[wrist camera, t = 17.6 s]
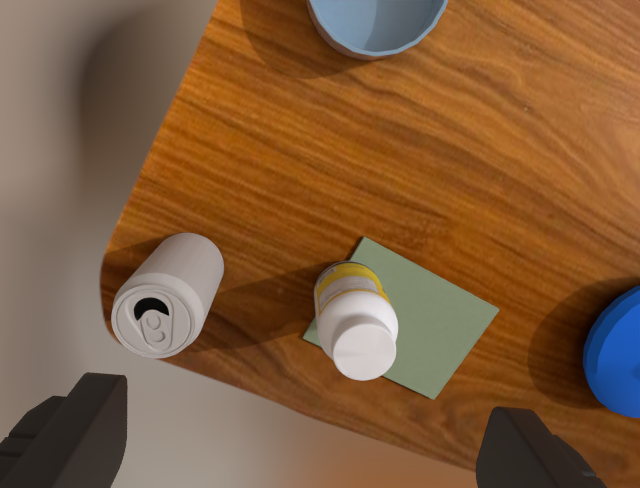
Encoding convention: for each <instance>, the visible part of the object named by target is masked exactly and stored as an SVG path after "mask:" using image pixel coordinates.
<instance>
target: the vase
mask: <svg viewBox="0 0 640 488" xmlns="http://www.w3.org/2000/svg"><path fill="white" fill-rule="evenodd" d="M583 367H584V372H585V376H586V380H587V382H588V384H589V387H590V388H591V390H592V391H593V393H594V395H595V396H596V398H597V399H598V401H599V402H601V403H602V404H603V405H605V406H606V407H607V408H608V409H610V410H611V411H613V412H616V413H619V414H621V415H624V416H627V417H636V418H640V285H639V286H636V287H634V288H632V289H631V290H629V291H627V292H626V293H624V294H623V295H621V296H620V297H618V298H616V299H615V300H614V301H613V302H612V303H611V304H610V305H609V306H608V307H607V308H606V309H605V310H604V311H603V312H602V313H601V314H600V316H599V317H598V319H597V320H596V322H595V323H594V325H593V326H592V328H591V329H590V332H589V335H588V337H587V340H586V343H585V346H584V353H583Z"/></svg>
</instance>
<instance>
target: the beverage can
mask: <svg viewBox="0 0 640 488" xmlns="http://www.w3.org/2000/svg"><path fill="white" fill-rule="evenodd" d="M223 272H224V262H223V258H222V255H221V253H220V251H219V250H218V248H217V247H216V246H215V245H214V244H213V243H212V242H211V241H210V240H209V239H207V238H205V237H203V236H201V235H198V234H194V233H179V234H175V235H172V236H170V237H168V238H167V239H165V240H164V241H163V242H162V243H161V244H160V245H159V246H158V247H157V248H156V249H155V251H154V252H153V253H152V254H151V255H150V256H149V257H148V258H147V259H146V260H145V262H144V263H143V264H142V265H141V266H140V267H139V268H138V269H137V270H136V271H135V272H134V274H133V275H132V276H131V277H130V278H129V279H128V280H127V281H126V282H125V283H124V285H123V286H122V287H121V288H120V289H119V291H118V292H117V294H116V296H115V299H114V302H113V310H112V315H111V322H112V327H113V330H114V333H115V335H116V336H117V338H118V340H119V341H120V342H121V343H122V344H123V345H124V346H125V347H126V348H127V349H129V350H130V351H132V352H134V353H136V354H138V355H141V356H144V357H148V358H165V357H170V356H172V355H175V354H177V353H179V352H180V351H182V350H183V349H184V348H185V347H187V346H188V345H190V344H191V343H192V342H193V341H194V340H195V339H196V338H197V336H198V335H199V333H200V331H201V329H202V327H203V324H204V322H205V319H206V317H207V314H208V312H209V309H210V307H211V304H212V302H213V299H214V297H215V294H216V292H217V289H218V286H219V284H220V281H221V279H222V276H223Z"/></svg>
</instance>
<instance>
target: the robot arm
mask: <svg viewBox="0 0 640 488" xmlns="http://www.w3.org/2000/svg"><path fill="white" fill-rule="evenodd" d="M126 440H127V378H126V377H125V376H124V375H114V374H101V373H89V372H88V373H86V374H84V375H83V376H82V378H81V379H80V380H79V381H78V383H77V384H76V385H75V387H74V388H73V389H72V390H71V392H70V393H69V394H68V396H67V397H62V396H52V397H50V398H49V399H47V400H45V401H44V402H42V403H41V404H39V405H38V406H36V407H35V408H33V409H31V410H30V411H28V412H27V413H26V414H25V415H24V416H23V418H22V419H21V420H20V421H19V422H18V423H17V425H16V426H15V427H14V428H13V429H12V430H11V432H10V433H9V436H8V437H5V439H4V440H3V441H2V442H1V443H0V488H110V487H111V485H112V483H113V481H114V479H115V477H116V474H117V472H118V470H119V468H120V465H121V463H122V460H123V456H124V452H125V447H126ZM476 480H477V485H478V488H607V487H606V486H605V484H604V483H603V482H602V481H601V479H600V478H597V477H596V473H595V472H594V471H593V470H592V468H591V467H590V466H589V465H588V463H587V462H586V461H585V460H584V459H583V457H582V456H581V455H580V454H579V453H578V452H577V451H576V450H574V449H573V448H572V447H571V446H569V445H568V444H567V443H566V442H564V441H563V440H562V439H560V438H559V437H558V436H557V435H552V434H551V432H550V431H549V430H548V428H547V427H546V426H545V425H544V423H543V422H542V421H541V419H540V418H539V417H538V416H537V414H536V413H535V412H534V411H532V410H530V409H521V408H509V407H495V408H494V409H493V410H492V412H491V414H490V417H489V421H488V424H487V428H486V431H485V434H484V438H483V441H482V445H481V448H480V451H479V455H478V458H477V462H476Z"/></svg>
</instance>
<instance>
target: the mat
mask: <svg viewBox="0 0 640 488" xmlns="http://www.w3.org/2000/svg"><path fill="white" fill-rule="evenodd" d="M349 261H355V262H359V263H362V264H364V265H366V266H367V267H369V268H370V269H371V270H372V271H373V272H374V273H375V274H376V276H377V277H378V279H379V281H380V283H381V285H382V287H383V289H384V291H385V293H386V295H387V297H388V299H389V301H390V304H391V306H392V308H393V310H394V312H395V314H396V317H397V321H398V335H397V339H396V342H395V344H396V357H395V360H394V362H393V364H392V365H391V367H390V368H389V369H388V370H387V371H386V372H385V373H384V374H383V375H382V376H384V377H386V378H388V379H390V380H392V381H395V382H397V383H399V384H401V385H403V386H405V387H407V388H410V389H412V390H414V391H416V392H418V393H420V394H422V395H424V396H427V397H429V398H431V399H433V400H434V399H435V398H436V397H437V395H438V394H439V392H440V391H441V390H442V388H443V387H444V386H445V384H446V383H447V381H448V380H449V379H450V377H451V376H452V375H453V373H454V372H455V370H456V369H457V368H458V366H459V365H460V364H461V362H462V361H463V359H464V358H465V357H466V355H467V354H468V353H469V351H470V350H471V348H472V347H473V346H474V344H475V343H476V342H477V340H478V339H479V337H480V336H481V335H482V333H483V332H484V331H485V329H486V328H487V326H488V325H489V324H490V322H491V321H492V320H493V318H494V317H495V315H496V314H497V313H498V311H499V309H498V308H497V307H495V306H493V305H491V304H489V303H488V302H486V301H484V300H482V299H480V298H478V297H476V296H475V295H473V294H471V293H469V292H467V291H465V290H463V289H462V288H460V287H458V286H456V285H454V284H452V283H450V282H448V281H447V280H445V279H443V278H441V277H439V276H437V275H435V274H434V273H432V272H430V271H428V270H426V269H424V268H422V267H421V266H419V265H417V264H415V263H413V262H411V261H409V260H407V259H406V258H404V257H402V256H400V255H398V254H396V253H394V252H393V251H391V250H389V249H387V248H385V247H383V246H381V245H379V244H378V243H376V242H374V241H372V240H370V239H368V238H366V237H365V236H363V238H362V240H361V241H360V243H359V245H358V246H357V248H356V249H355V251H354V253H353V254H352V256H351V258H350V259H349ZM303 339H305V340H307V341H309V342H312V343H314V344H316V345H318V346H320V347H321V344H320V342H319V338H318V332H317V322H316V315H315V317H314V318H313V320H312V322H311V323H310V325H309V327H308V328H307V330H306V332H305V333H304V335H303Z"/></svg>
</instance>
